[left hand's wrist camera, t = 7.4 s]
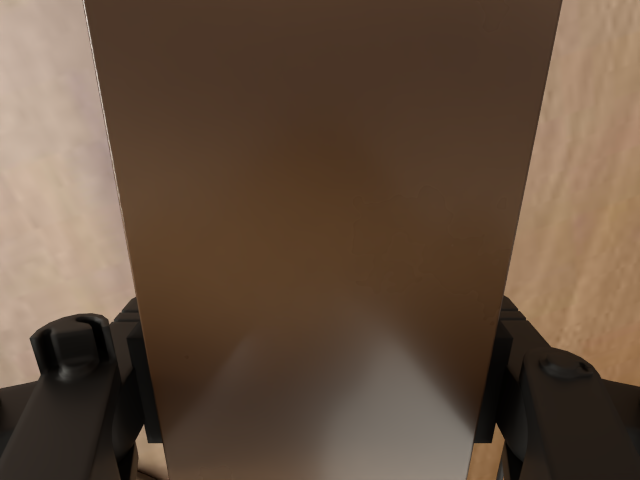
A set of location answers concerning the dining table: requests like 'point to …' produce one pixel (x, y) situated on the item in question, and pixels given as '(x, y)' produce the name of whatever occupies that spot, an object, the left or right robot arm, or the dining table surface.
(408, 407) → the beam
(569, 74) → the dining table surface
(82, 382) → the left robot arm
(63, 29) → the dining table surface
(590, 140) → the dining table surface
